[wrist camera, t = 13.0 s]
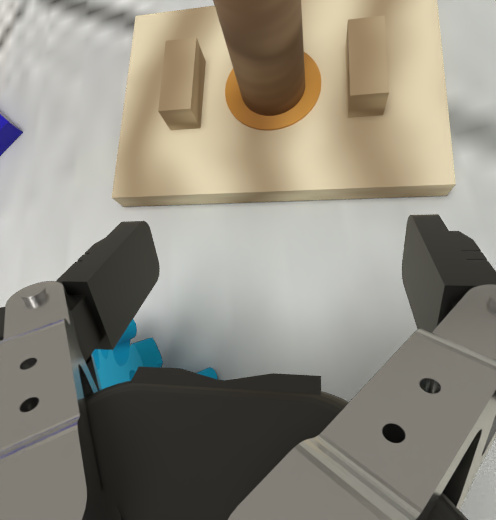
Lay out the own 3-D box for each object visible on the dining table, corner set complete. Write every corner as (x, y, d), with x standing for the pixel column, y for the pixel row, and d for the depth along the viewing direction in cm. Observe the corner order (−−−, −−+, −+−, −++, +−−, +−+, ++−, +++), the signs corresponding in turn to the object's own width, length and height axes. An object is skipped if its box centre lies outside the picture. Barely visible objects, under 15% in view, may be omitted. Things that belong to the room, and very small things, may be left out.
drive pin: (306, 56, 24) (297, -146, 14) (306, 113, 23) (297, -61, 13) (241, 62, 25) (192, -125, 15) (238, 118, 24) (184, -44, 14)
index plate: (428, -2, 25) (444, -57, 22) (446, 195, 22) (469, 166, 19) (144, 32, 29) (122, -10, 26) (123, 206, 25) (94, 184, 22)
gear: (59, 338, 22) (110, 291, 15) (151, 312, 26) (230, 264, 18) (113, 536, 20) (202, 598, 13) (204, 477, 24) (314, 499, 17)
